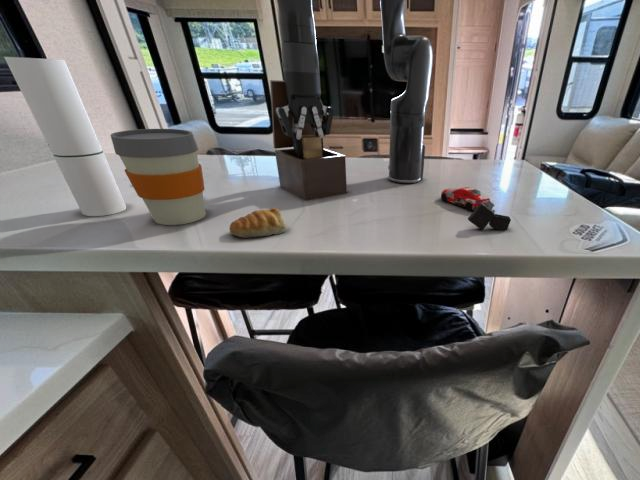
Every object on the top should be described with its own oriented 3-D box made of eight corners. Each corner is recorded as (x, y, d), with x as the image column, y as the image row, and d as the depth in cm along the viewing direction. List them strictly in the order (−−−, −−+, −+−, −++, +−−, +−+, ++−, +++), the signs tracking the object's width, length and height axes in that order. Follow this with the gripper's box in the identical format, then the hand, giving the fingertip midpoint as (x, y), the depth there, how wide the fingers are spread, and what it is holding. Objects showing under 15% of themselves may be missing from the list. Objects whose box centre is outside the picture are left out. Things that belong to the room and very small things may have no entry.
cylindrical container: (122, 202, 72) (61, 59, 58) (130, 211, 68) (67, 60, 54) (79, 208, 68) (3, 56, 54) (85, 218, 64) (4, 56, 50)
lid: (319, 82, 78) (309, 75, 80) (271, 81, 71) (261, 73, 74) (317, 145, 88) (307, 136, 90) (275, 148, 81) (265, 139, 84)
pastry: (237, 243, 58) (232, 222, 55) (226, 231, 62) (221, 211, 60) (289, 232, 63) (286, 212, 61) (275, 221, 67) (272, 202, 65)
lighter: (493, 237, 71) (511, 217, 69) (497, 241, 69) (515, 221, 67) (466, 217, 68) (483, 196, 66) (469, 221, 66) (487, 199, 64)
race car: (436, 199, 84) (437, 183, 82) (451, 196, 87) (453, 180, 85) (476, 214, 75) (480, 196, 73) (491, 210, 78) (495, 193, 76)
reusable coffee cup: (149, 209, 69) (118, 128, 61) (216, 204, 74) (196, 128, 65) (137, 232, 60) (98, 140, 51) (215, 224, 64) (191, 138, 56)
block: (313, 154, 84) (311, 134, 82) (322, 157, 81) (320, 137, 79) (297, 155, 82) (295, 135, 79) (306, 159, 79) (303, 138, 76)
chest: (347, 192, 85) (345, 155, 80) (305, 200, 78) (300, 160, 74) (319, 180, 93) (316, 146, 88) (280, 186, 87) (274, 150, 82)
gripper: (277, 68, 65) (289, 161, 75) (339, 72, 73) (343, 155, 83) (261, 68, 70) (275, 155, 80) (321, 71, 78) (327, 150, 88)
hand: (309, 154), depth 81 cm, fingers closed on block, 4 cm apart
